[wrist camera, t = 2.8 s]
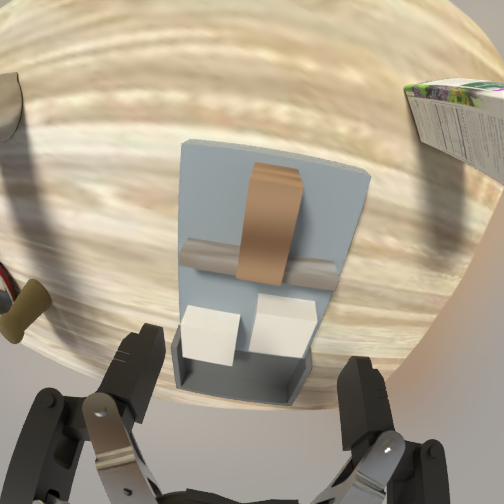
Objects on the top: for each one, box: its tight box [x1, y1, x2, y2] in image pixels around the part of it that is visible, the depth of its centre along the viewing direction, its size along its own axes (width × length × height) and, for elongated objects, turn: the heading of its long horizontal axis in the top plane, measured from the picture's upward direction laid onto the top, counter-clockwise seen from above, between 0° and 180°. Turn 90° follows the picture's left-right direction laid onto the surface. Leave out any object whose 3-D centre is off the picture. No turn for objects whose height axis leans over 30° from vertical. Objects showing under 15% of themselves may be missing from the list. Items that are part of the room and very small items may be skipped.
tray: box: [171, 325, 312, 406], centre depth 37 cm, size 11×18×4 cm, turn 82°
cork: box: [0, 279, 51, 344], centre depth 32 cm, size 6×6×11 cm
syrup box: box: [404, 78, 504, 185], centre depth 13 cm, size 6×6×14 cm
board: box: [178, 139, 371, 359], centre depth 29 cm, size 24×16×2 cm, turn 172°
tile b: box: [181, 305, 240, 366], centre depth 31 cm, size 6×6×3 cm
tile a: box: [249, 293, 318, 358], centre depth 29 cm, size 6×6×3 cm
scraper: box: [179, 162, 339, 291], centre depth 22 cm, size 9×14×5 cm, turn 82°
